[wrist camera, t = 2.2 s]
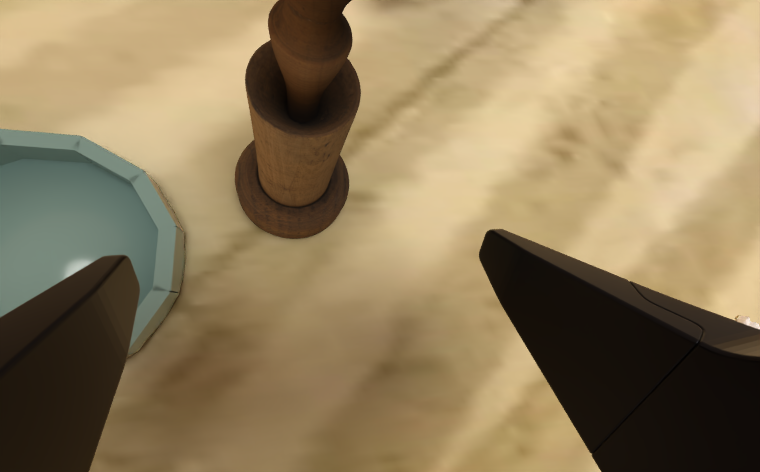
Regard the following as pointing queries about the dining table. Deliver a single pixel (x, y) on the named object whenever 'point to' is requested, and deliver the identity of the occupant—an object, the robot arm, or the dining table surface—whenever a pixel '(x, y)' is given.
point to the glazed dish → (83, 222)
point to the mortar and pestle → (299, 119)
